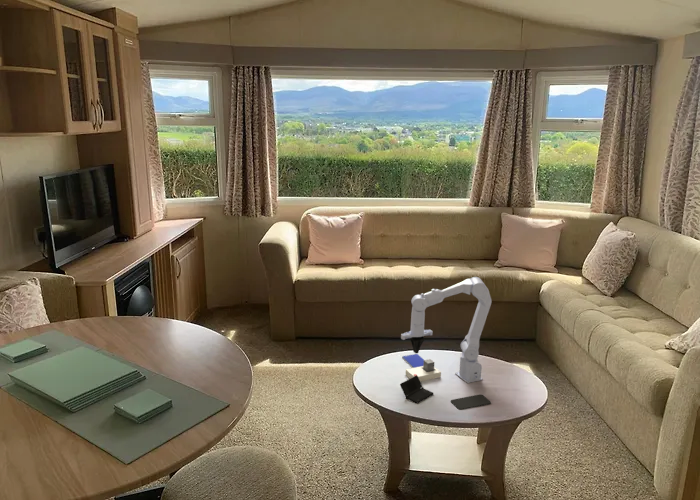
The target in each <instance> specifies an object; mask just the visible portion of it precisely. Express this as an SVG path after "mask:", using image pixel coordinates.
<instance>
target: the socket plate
mask: <svg viewBox="0 0 700 500" xmlns="http://www.w3.org/2000/svg"><path fill="white" fill-rule="evenodd" d="M405 376H406V377H408V378H409V379H411V378H413V377H415V376H418V378H419V380H420V382H421V383H422V382H425V381H429V380H434V379H438V378H441V377H442V371H440V369H438V368H437V367H435V366H434V371H431V372H426V371H425V370H423V366H420V367H415V368H412V367H411V368H406V369H405Z"/></svg>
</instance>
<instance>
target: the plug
mask: <svg viewBox="0 0 700 500" xmlns="http://www.w3.org/2000/svg"><path fill="white" fill-rule="evenodd" d="M434 367H435V361H433V360H432V359H430V358H429V359H428V358H427V359H424V363H423V370H425V371H426V372H431V371H434Z"/></svg>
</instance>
